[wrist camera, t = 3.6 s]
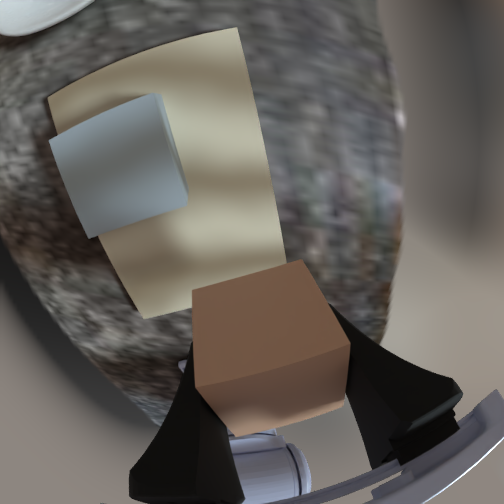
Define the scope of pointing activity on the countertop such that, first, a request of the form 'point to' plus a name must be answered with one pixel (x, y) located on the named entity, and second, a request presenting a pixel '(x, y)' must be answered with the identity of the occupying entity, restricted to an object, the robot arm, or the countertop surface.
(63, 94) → the baseboard
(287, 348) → the terracotta block
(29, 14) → the spoon rest
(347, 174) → the countertop surface
